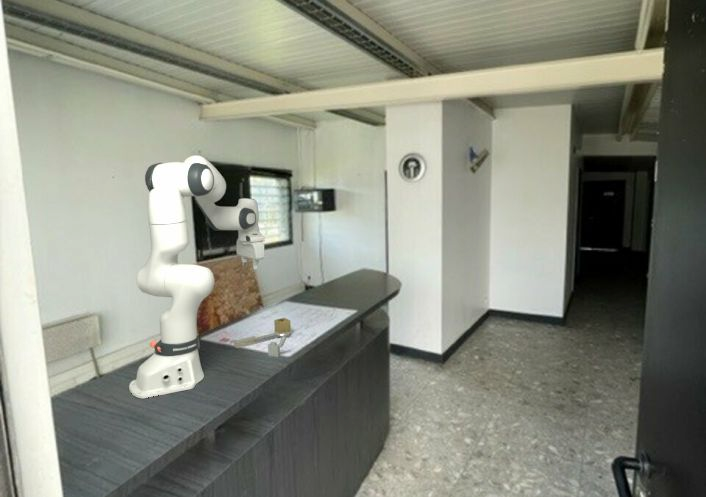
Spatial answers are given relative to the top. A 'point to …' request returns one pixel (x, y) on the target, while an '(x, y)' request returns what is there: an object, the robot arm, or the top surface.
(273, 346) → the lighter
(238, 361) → the top surface
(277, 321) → the socket
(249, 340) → the ratchet
